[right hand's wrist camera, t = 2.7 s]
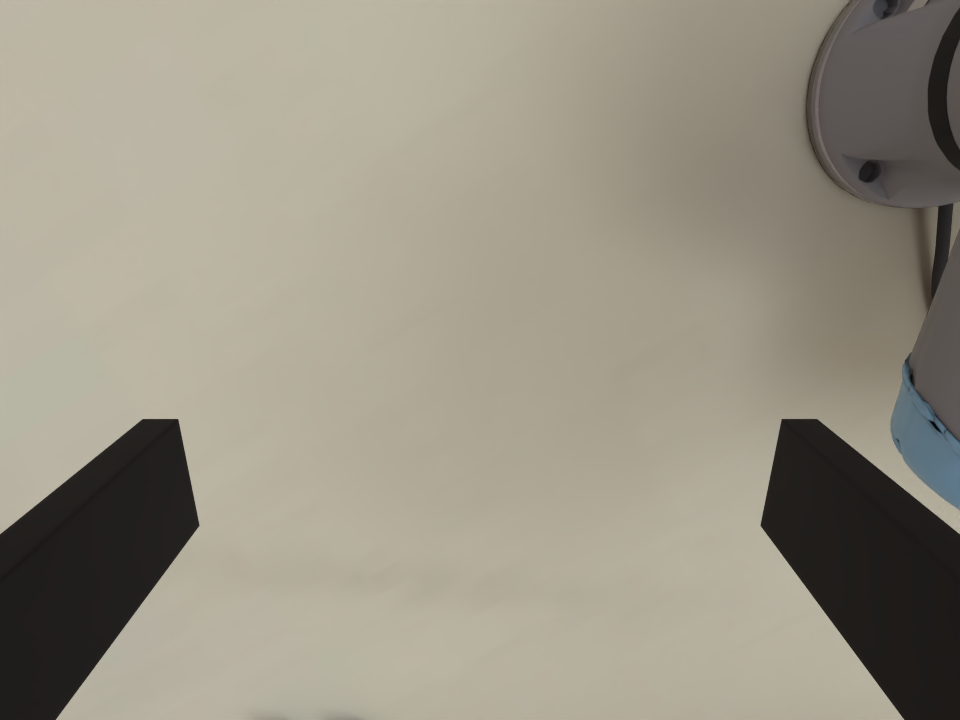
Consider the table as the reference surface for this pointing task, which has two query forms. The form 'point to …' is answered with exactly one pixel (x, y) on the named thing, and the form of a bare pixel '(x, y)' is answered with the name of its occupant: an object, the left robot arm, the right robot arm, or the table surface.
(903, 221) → the table surface
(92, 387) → the table surface
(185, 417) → the table surface
